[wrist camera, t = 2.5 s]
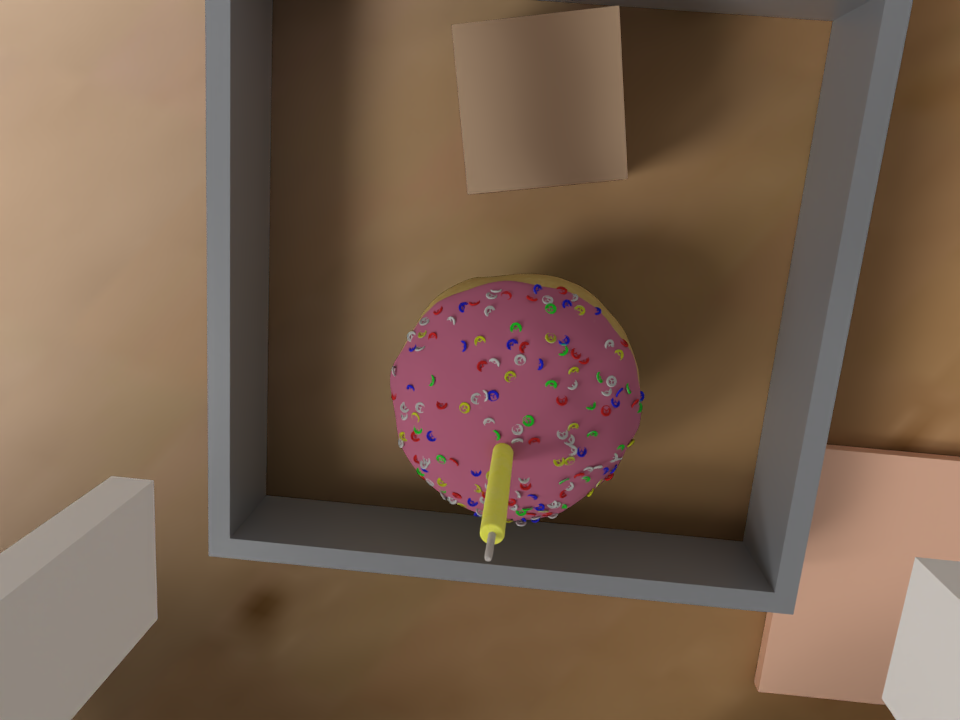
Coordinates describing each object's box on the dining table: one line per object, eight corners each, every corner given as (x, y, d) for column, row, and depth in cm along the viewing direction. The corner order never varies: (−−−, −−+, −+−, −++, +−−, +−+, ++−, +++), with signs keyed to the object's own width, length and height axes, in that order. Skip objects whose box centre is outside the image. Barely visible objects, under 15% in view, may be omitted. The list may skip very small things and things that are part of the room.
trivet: (753, 682, 32) (758, 691, 31) (798, 441, 30) (804, 446, 29) (1014, 709, 32) (1023, 719, 31) (1082, 467, 29) (1093, 473, 29)
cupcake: (589, 490, 31) (630, 676, 19) (389, 440, 31) (306, 595, 19) (649, 289, 29) (737, 358, 17) (436, 235, 29) (375, 266, 17)
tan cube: (477, 193, 28) (467, 194, 23) (464, 54, 27) (451, 24, 22) (609, 181, 28) (627, 178, 23) (601, 39, 27) (619, 5, 22)
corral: (247, 510, 32) (208, 555, 28) (251, -44, 27) (204, -84, 23) (759, 560, 31) (793, 614, 27) (860, -2, 26) (920, -36, 22)
